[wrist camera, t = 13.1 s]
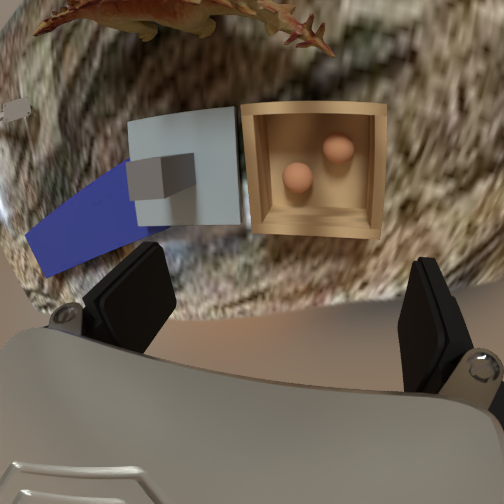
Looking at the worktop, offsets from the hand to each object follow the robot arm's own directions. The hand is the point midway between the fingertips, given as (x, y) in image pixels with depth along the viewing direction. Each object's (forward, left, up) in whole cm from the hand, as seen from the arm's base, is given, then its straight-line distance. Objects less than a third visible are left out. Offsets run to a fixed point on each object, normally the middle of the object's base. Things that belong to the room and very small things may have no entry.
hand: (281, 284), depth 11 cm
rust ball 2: (-2, -1, -20) cm, 20 cm away
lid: (+14, 0, -20) cm, 25 cm away
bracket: (+53, -14, -23) cm, 59 cm away
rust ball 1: (+2, +2, -20) cm, 20 cm away
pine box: (0, 0, -22) cm, 22 cm away
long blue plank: (+36, +9, -22) cm, 43 cm away
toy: (+12, -18, -22) cm, 31 cm away
